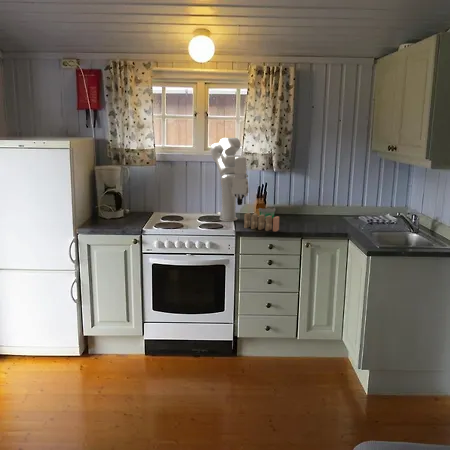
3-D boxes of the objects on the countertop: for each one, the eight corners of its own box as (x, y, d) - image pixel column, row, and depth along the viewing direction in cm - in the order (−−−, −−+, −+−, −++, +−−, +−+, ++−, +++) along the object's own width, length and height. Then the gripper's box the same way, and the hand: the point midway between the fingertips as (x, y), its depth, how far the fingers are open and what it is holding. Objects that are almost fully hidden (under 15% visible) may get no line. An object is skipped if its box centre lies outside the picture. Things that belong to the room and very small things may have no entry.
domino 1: (244, 227, 304) (244, 214, 301) (247, 226, 308) (247, 212, 306) (246, 228, 303) (247, 214, 301) (250, 226, 307) (250, 213, 305)
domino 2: (251, 228, 301) (251, 214, 299) (254, 227, 305) (254, 213, 303) (253, 229, 300) (254, 215, 298) (257, 227, 304) (257, 213, 302)
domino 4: (265, 230, 296) (265, 216, 294) (268, 229, 301) (269, 215, 299) (268, 231, 296) (268, 217, 294) (271, 229, 300) (272, 215, 298)
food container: (262, 224, 314) (262, 209, 312) (258, 222, 320) (258, 207, 318) (278, 223, 319) (279, 208, 317) (274, 221, 324) (274, 206, 322)
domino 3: (258, 229, 299) (258, 215, 297) (261, 228, 303) (262, 214, 301) (261, 230, 298) (261, 216, 296) (264, 228, 302) (264, 214, 300)
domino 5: (272, 231, 294) (273, 217, 292) (275, 230, 298) (276, 216, 296) (275, 232, 293) (276, 218, 291) (278, 230, 297) (279, 216, 295)
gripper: (253, 176, 300) (252, 205, 304) (232, 175, 307) (232, 203, 311) (248, 177, 294) (247, 206, 298) (227, 176, 301) (226, 204, 305)
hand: (239, 204), depth 304 cm, fingers closed
